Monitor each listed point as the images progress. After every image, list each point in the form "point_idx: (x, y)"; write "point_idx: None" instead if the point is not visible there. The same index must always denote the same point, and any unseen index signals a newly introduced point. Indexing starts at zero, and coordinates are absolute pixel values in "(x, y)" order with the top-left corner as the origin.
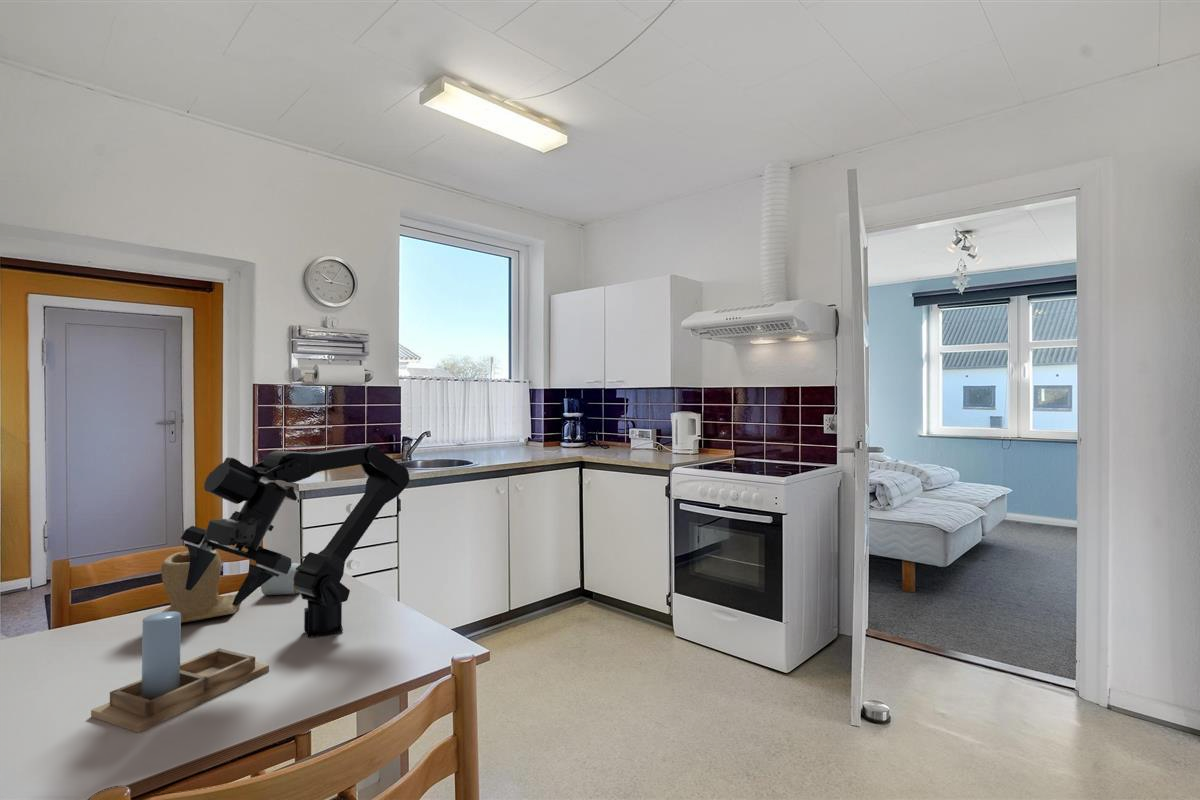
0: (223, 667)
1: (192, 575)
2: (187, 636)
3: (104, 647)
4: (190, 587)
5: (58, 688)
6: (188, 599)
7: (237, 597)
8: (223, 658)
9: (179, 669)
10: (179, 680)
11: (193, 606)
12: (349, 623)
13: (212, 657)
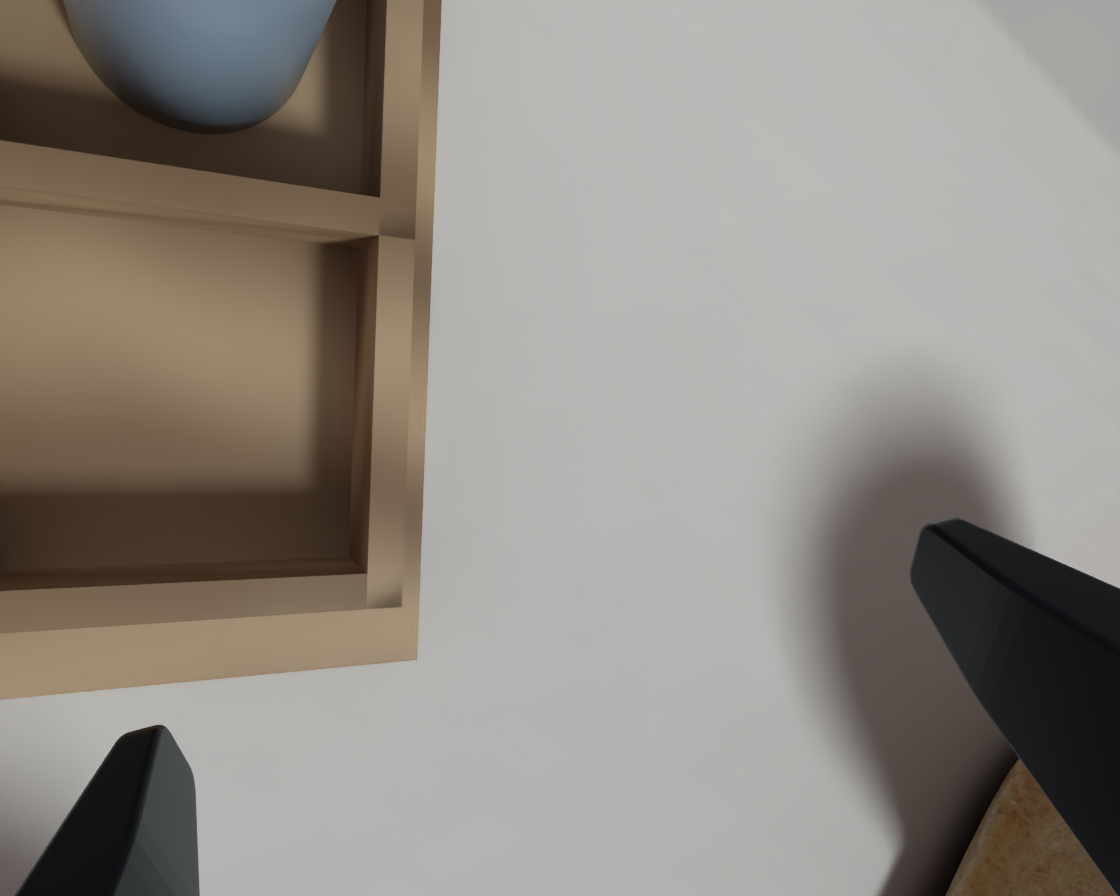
0: (223, 517)
1: (1099, 637)
2: (865, 731)
3: (1048, 466)
4: (936, 577)
5: (861, 83)
6: (1105, 882)
7: (81, 835)
8: (290, 565)
9: (85, 2)
10: (97, 47)
11: (1048, 882)
12: None
13: (361, 525)
